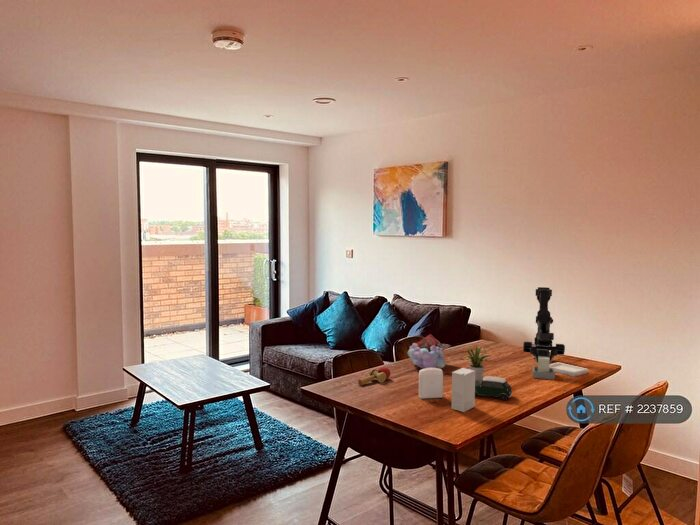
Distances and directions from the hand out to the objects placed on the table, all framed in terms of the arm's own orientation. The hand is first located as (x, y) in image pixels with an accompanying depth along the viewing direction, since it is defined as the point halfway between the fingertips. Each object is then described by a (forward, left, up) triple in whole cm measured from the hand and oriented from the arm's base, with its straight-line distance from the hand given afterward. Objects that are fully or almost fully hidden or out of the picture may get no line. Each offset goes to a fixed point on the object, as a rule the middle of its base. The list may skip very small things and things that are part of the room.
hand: (543, 363), depth 241 cm
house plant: (-15, -31, -7) cm, 35 cm away
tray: (0, +18, -7) cm, 19 cm away
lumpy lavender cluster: (-45, -33, -7) cm, 56 cm away
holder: (-1, +1, -7) cm, 7 cm away
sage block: (-1, +1, -7) cm, 7 cm away
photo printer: (-8, -66, -7) cm, 67 cm away
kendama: (-39, -72, -7) cm, 82 cm away
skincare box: (+9, -65, -7) cm, 66 cm away
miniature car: (+5, -44, -7) cm, 45 cm away
